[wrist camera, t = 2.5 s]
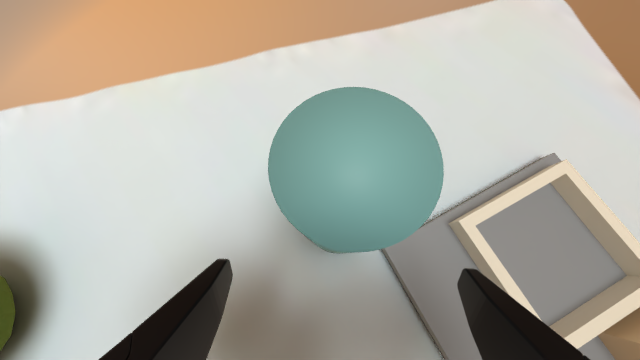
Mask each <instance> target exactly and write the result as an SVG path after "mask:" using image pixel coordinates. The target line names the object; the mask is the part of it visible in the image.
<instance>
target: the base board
mask: <svg viewBox="0 0 640 360" xmlns="http://www.w3.org/2000/svg"><path fill="white" fill-rule="evenodd" d="M382 251H383V253H384V255H385V256H386V258H387V260H388V261H389V263H390V265H391V267H392V268H393V270H394V272H395V274H396V275H397V277H398V279H399V280H400V282H401V284H402V286H403V287H404V289H405V291H406V293H407V294H408V296H409V298H410V299H411V301H412V303H413V305H414V306H415V308H416V310H417V312H418V313H419V315H420V317H421V319H422V320H423V322H424V324H425V325H426V327H427V329H428V331H429V332H430V334H431V336H432V338H433V339H434V341H435V343H436V344H437V346H438V348H439V350H440V351H441V353H442V355H443V357H444V358H445V360H482V358H481V355H480V353H479V350H478V348H477V346H476V343H475V341H474V338H473V336H472V333H471V331H470V328H469V325H468V322H467V318H466V315H465V311H464V308H463V305H462V301H461V298H460V295H459V291H458V288H457V283H458V280H459V277H460V275H461V272H462V270H463V269H464V268H475V269H477V270H478V271H480V272H481V273H482V274H483V275H485V276H486V277H487V278H488V279H490V280H491V281H492V282H493V283H495V284H496V285H497V286H498V287H500V288H501V289H502V290H503V291H505V292H506V293H507V294H508V295H510V296H511V297H512V298H514V299H515V300H516V301H517V302H519V303H520V304H521V305H522V306H524V307H525V308H526V309H527V310H529V311H530V312H531V313H532V314H534V315H535V316H536V317H537V318H539V319H540V320H541V321H542V322H544V323H545V324H546V325H548V326H549V327H550V328H551V329H553V330H554V331H555V332H556V333H558V334H559V335H560V336H561V337H563V338H564V339H565V340H566V341H568V342H569V343H570V344H571V345H573V346H574V347H575V348H577V349H578V350H579V351H580V352H582V354H583V355H585V356H587V357H588V358H589V359H590V360H640V243H639V242H638V241H637V240H636V238H635V237H634V236H633V235H632V234H631V233H630V232H629V230H628V229H627V228H626V227H625V226H624V225H623V224H622V222H621V221H620V220H619V219H618V218H617V217H616V215H615V214H614V213H613V212H612V211H611V210H610V209H609V207H608V206H607V205H606V204H605V203H604V202H603V201H602V199H601V198H600V197H599V196H598V195H597V194H596V193H595V191H594V190H593V189H592V188H591V187H590V186H589V184H588V183H587V182H586V181H585V180H584V179H583V178H582V176H581V175H580V174H579V173H578V172H577V171H576V170H575V168H574V167H573V166H572V165H571V164H570V163H569V162H568V160H567V159H566V160H564V161H561V160H560V159H559V158H558V156H557V155H556V154H555V153H552V154H550V155H548V156H545V157H543V158H541V159H539V160H538V161H536V162H534V163H532V164H530V165H529V166H527V167H525V168H523V169H522V170H520V171H518V172H516V173H515V174H513V175H511V176H509V177H507V178H506V179H504V180H502V181H500V182H499V183H497V184H495V185H493V186H491V187H490V188H488V189H486V190H484V191H483V192H481V193H479V194H477V195H476V196H474V197H472V198H470V199H468V200H467V201H465V202H463V203H461V204H460V205H458V206H456V207H454V208H452V209H451V210H449V211H447V212H445V213H444V214H442V215H440V216H438V217H437V218H435V219H433V220H431V221H429V222H428V223H426V224H424V225H422V226H421V227H420V228H419V229H418V230H417V231H415V232H414V233H413V234H412V235H410V236H409V237H407V238H406V239H404V240H403V241H401V242H399V243H397V244H394V245H392V246H390V247H386V248H383V249H382Z"/></svg>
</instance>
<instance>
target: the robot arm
mask: <svg viewBox="0 0 640 360" xmlns="http://www.w3.org/2000/svg"><path fill="white" fill-rule="evenodd" d="M232 276H233V274H232V269H231V265H230V261H229V260H228V259H217V260H216V261H215V262H213V263H212V264H211V265H210V266H209V267H208V268H206V269H205V270H204V271H203V272H202V273H201V274H199V275H198V276H197V277H196V278H195V279H194V280H192V281H191V282H190V283H189V284H188V285H186V286H185V287H184V288H183V289H182V290H181V291H179V292H178V293H177V294H176V295H175V296H174V297H172V298H171V299H170V300H169V301H168V302H167V303H165V304H164V305H163V306H162V307H161V308H159V309H158V310H157V311H156V312H155V313H154V314H152V315H151V316H150V317H149V318H148V319H147V320H145V321H144V322H143V323H142V324H141V325H140V326H138V327H137V328H136V329H135V330H134V331H133V333H130V334H129V335H128V336H126V337H125V338H124V339H123V340H122V341H121V342H119V343H118V344H117V345H116V346H115V347H113V348H112V349H111V350H110V351H109V352H107V353H106V354H105V355H104V356H102V357H101V358H100V359H99V360H206V358H207V356H208V353H209V350H210V348H211V345H212V343H213V340H214V337H215V335H216V332H217V329H218V327H219V324H220V321H221V318H222V315H223V312H224V308H225V304H226V300H227V297H228V293H229V289H230V285H231V282H232ZM457 288H458V291H459V295H460V298H461V301H462V305H463V308H464V311H465V315H466V318H467V322H468V325H469V328H470V331H471V333H472V336H473V338H474V341H475V343H476V346H477V348H478V350H479V353H480V355H481V358H482V360H590V359H589V358H588V357H587V356H585V355H583V354H582V352H580V351H579V350H578V349H577V348H575V347H574V346H573V345H571V344H570V343H569V342H568V341H566V340H565V339H564V338H563V337H561V336H560V335H559V334H558V333H556V332H555V331H554V330H553V329H551V328H550V327H549V326H548V325H546V324H545V323H544V322H542V321H541V320H540V319H539V318H537V317H536V316H535V315H534V314H532V313H531V312H530V311H529V310H527V309H526V308H525V307H524V306H522V305H521V304H520V303H519V302H517V301H516V300H515V299H514V298H512V297H511V296H510V295H508V294H507V293H506V292H505V291H503V290H502V289H501V288H500V287H498V286H497V285H496V284H495V283H493V282H492V281H491V280H490V279H488V278H487V277H486V276H485V275H483V274H482V273H481V272H480V271H478V270H477V269H475V268H464V269H463V270H462V272H461V275H460V277H459V280H458V283H457Z"/></svg>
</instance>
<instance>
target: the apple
mask: <svg viewBox="0 0 640 360" xmlns="http://www.w3.org/2000/svg"><path fill="white" fill-rule="evenodd" d="M15 313H16V311H15V305H14V300H13V294H12V291H11V290H10V288H9V286H8V284H7V282H6V280H5V278H3V277H2V276H0V351H1V350H2V348H3V347H4V345H5V344H6V342H7V341H8V339H9V337H10V336H11V334H12V328H13V323H14V318H15Z"/></svg>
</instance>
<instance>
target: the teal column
mask: <svg viewBox="0 0 640 360" xmlns="http://www.w3.org/2000/svg"><path fill="white" fill-rule="evenodd" d="M268 173H269V181H270V185H271V189H272V193H273V195H274V198H275V200H276V203H277V204H278V206H279V208H280V209H281V211H282V213H283V214H284V215H285V217H286V218H287V219H288V220H289V222H290V223H291V224H292V225H293V226H294V227H295V228H296V229H297V230H299V231H300V232H301V233H302V234H304V235H305V236H306V237H307V238H309V239H310V240H311V241H312V242H314V243H315V244H316V245H317V246H319V247H320V248H322V249H323V250H325V251H328V252H332V253H352V252H368V251H374V250H380V249H383V248H386V247H390V246H392V245H394V244H397V243H399V242H401V241H403V240H404V239H406V238H407V237H409V236H410V235H412V234H413V233H414V232H415V231H417V230H418V229H419V228H420V227H421V226H422V225H423V224H424V222H425V221H426V220H427V219H428V218H429V216H430V215H431V213H432V211H433V210H434V208H435V206H436V204H437V201H438V199H439V197H440V193H441V189H442V184H443V175H444V173H443V160H442V154H441V150H440V147H439V144H438V142H437V140H436V137H435V135H434V133H433V132H432V130H431V128H430V127H429V125H428V124H427V123H426V121H425V120H424V119H423V118H422V117H421V115H419V114H418V113H417V112H416V111H415V110H414V109H413V108H412V107H410V106H409V105H408V104H406V103H405V102H403V101H402V100H400V99H398V98H396V97H394V96H392V95H390V94H387V93H385V92H382V91H378V90H375V89H369V88H361V87H344V88H338V89H332V90H329V91H325V92H322V93H320V94H317V95H315V96H313V97H311V98H309V99H308V100H306V101H304V102H303V103H302V104H300V105H299V106H297V107H296V108H295V109H294V110H293V111H292V112H291V113H290V114H289V115H288V116H287V117H286V119H285V120H284V121H283V123H282V124H281V126H280V127H279V129H278V131H277V133H276V135H275V137H274V139H273V142H272V145H271V149H270V154H269V161H268Z"/></svg>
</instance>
